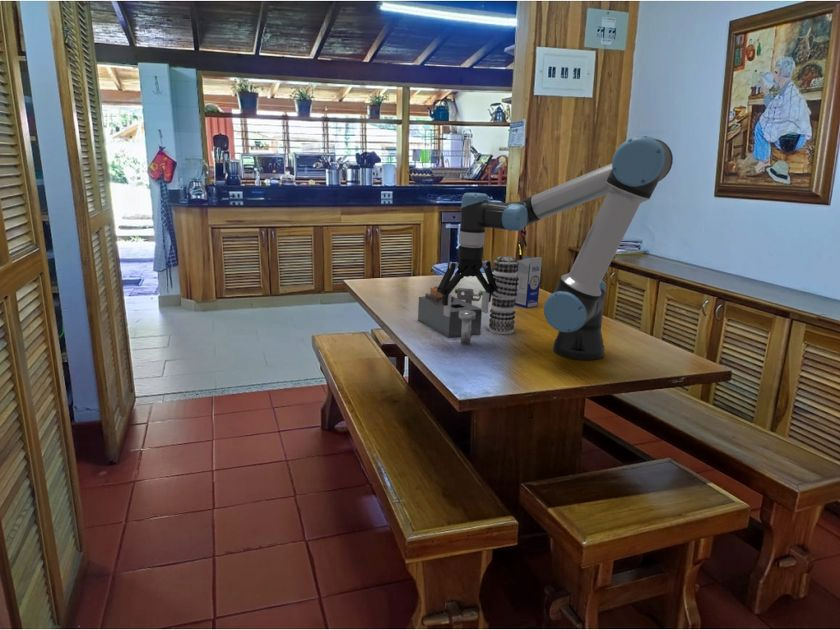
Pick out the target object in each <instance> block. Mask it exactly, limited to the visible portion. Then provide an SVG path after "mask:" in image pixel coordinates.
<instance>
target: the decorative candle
mask: <svg viewBox="0 0 840 630" xmlns="http://www.w3.org/2000/svg"><path fill="white" fill-rule="evenodd" d="M517 261H518V260H517V258H516V257H515V256H506V255H502V256H501V255H500V256H498V257H497V258H496V259H495V260H494V261H493V262H494V270H493V276H494V279H495V282H496V285H497V290H494V292H493V293H491V305H490V309H489V313H490V314H489V317H490V318H489V319H488V322H489V324H488V331H489V332H491V333H494V334H498V335H510V334H512V333H514V332H515V330H514V329H515V320H514V319H515V318H516V315H515V314H516V311H515V310H516V309H515V307H516V305H514V303H515V299H516V296H517V293H515V291H518V289H517V288H515V286H516V285H519V284H518V283H517V282H516V281H518V280H519V278H517V273H518V271H517V266H518V263H519V262H517Z"/></svg>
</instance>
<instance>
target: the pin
mask: <svg viewBox="0 0 840 630" xmlns="http://www.w3.org/2000/svg"><path fill="white" fill-rule="evenodd" d="M475 316H476V312H474V311H470V310H462V311H459V317H458V318H459V319H462V327H461V336H460V344H461V345H464V346H465V345H466V346H467V345H468V346H469V345H471V340H472V339H471V336H472V335H471V322H472V320H474V319H475Z"/></svg>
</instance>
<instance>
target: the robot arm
mask: <svg viewBox="0 0 840 630" xmlns="http://www.w3.org/2000/svg"><path fill="white" fill-rule="evenodd" d="M673 162H674V158H673V152H672V150H671V148H670V147H669V145H668V144H667V143H666V142H664V141H662V140H660V139H658V138H654V137H652V136H647V135H639V136H634V137H632V138H629V139H627V140H626V141H623V142H622V143H621V144H620V145H619V146H618V147H617V149H616V150H615V151H614V154H613V157H612V162H611V163H609V164H606V165H603V166H602V167H600V168H597V169H594V170H592V171H589V172H587V173H585V174H581V175H580V176H578V177H575V178H573V179H570V180H567V181H566V182H563V183H561V184H559V185H555V186H553V187H551V188H549V189H545V190H544V191H541V192H538V193H536V194H534V195H532V196H529V197H527V198H523V199H522V200H518V201H510V202H499V201H497V202H496V201H490V200H489V198H488V197H489V196H488V194H487V193H482V192H481V193H480V192H465V193H463V195H462V196H461V197H462V199H461V206H460V223H459V238H458V243H459V246H458V249H457V262H454V261H453V262H452V261H449V262H447V268H446V271H445V273H444V275H443V277H442V278H441V281H440V282H439V284H438V286H439V287H438V289H437V292H439V293H441V294H442V295H443V296H442V304H443V305H444V314H443V315H445V316H447V317H450V310H451V296H452V295H451V293H452V291H453V290H455V289H456V287H457V285H459V283H460V282H461V280H463V279H464V278H469V277H476V279H477V280H478V282H479V283H480V285H481V286H482V287H483V289H484V290H482V291H483V294H482V295H481V307H480V308H481V311H482V313H484V314H489V304H490V302H492V297H491V293H493V292H494V290H497V285H496V282H495V279H494V276H493V274H494V272H493V270H492V264H491V261H489V260H486V259H484V260H483V261H482V259H483V257H484V249H485V248H484V247H483V246H484V245H485V236H486V229H487V228H491V229H497V230H505V231H510V232H512V231H515V232H520V231H523V230H524V228H525V227H528V226H530V225H532V224H533V223H536V222H538V221H540V220H543V219H545V218H548V217H551V216H553V215H556V214H559V213H561V212H564V211H567V210H569V209H570V210H571V209H572V208H575V207H577V206H580V205H582V204H584V203H587V202H591V201H593V200H595V199H599V198H601V197H603V196H605V198H603V201H602V204H601V205H600V207H599V210H598V212H597V213H596V216H595V218H594V221H593V222H592V224H591V227H590V228H589V231H588V233H587V235H586V236H585V239H584V241H583V242H582V246H581V248H580V250H579V252H578V253H577V257H576V258H575V261H574V262H573V265H572V267H571V269H570V272H568V273H566V274H562V275H561V276H560V279H559V281H558V283H557V285H556V287H555V289H554V292H552V293H551V294H550V295H549V296H548V297H547V299H546V300H545V301H544V305H543V315H544V318H545V320H546V322H547V323H548V324H549V325H550V326H551V328H553V329H554V330H556V331H558V332H557V335H556V339H554V341H553V344H552V351H553V352H554V353H555V354H557V355H558V356H562V357H564V358H569V359H573V360H580V361H581V360H582V361H594V360H595V361H596V360H600V359H603V358H604V355H605V349H606V348H605V345H604V339H603V334H602V323H603V316H604V309H605V308H604V307H605V300H606V299H605V298H606V293H607V283H606V281H605V280H603V278H604V277H605V275H606V273H607V271H608V268H609V267H610V265H611V263H612V261H613V259H614V257H615V256H616V253H617V251H618V249H619V247H620V245H621V244H622V240H623V239H624V237H625V235H626V233H627V231H628V229H629V228H630V225H631V223H632V221H633V219H634V217H635V215H636V213H637V211H638V209H639V207H640V206H641V204H642V203H644V202H647V201H649V200H651V197H652V195H653V193H654V192H655V189H656V188H657V186H658V183H659V182H661V181H662V180H664V179H665V178H666V177H667V176H668V174H669V173H670V171H671V169H672V165H673V164H674V163H673ZM482 268H483V272H484V274H485V277H486V278H485V277H484V274H483V272H482V271H481V269H482ZM599 358H600V359H599Z"/></svg>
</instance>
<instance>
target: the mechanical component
mask: <svg viewBox="0 0 840 630" xmlns="http://www.w3.org/2000/svg"><path fill="white" fill-rule="evenodd" d="M483 291H484V290H481V289H480V290H478V292H477V293H475V291H474V289H473V288H464V287H463V288H462V287H457V288H454V293H455V294H456V298H458V299H460V300H462V301H465V302H467V303H469V304H472V305H473V302H479V301H480V299H482V294H483ZM462 293H464V294H462ZM474 297H478V298H474Z"/></svg>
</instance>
